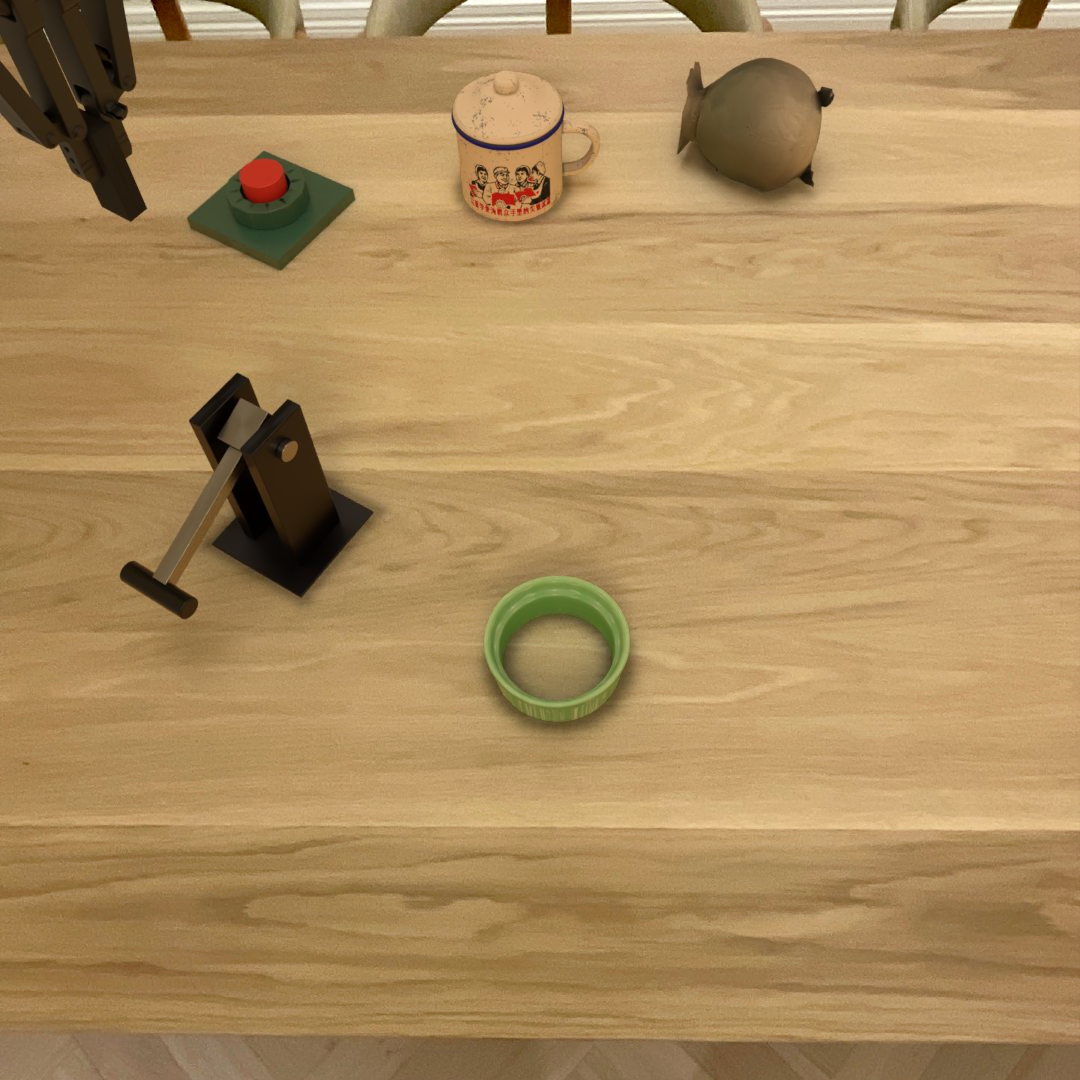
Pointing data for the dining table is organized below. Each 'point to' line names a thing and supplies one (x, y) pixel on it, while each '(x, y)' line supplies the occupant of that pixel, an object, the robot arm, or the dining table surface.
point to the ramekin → (556, 599)
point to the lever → (198, 518)
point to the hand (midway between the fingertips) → (124, 207)
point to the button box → (273, 214)
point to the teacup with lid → (515, 145)
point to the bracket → (278, 494)
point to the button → (263, 181)
